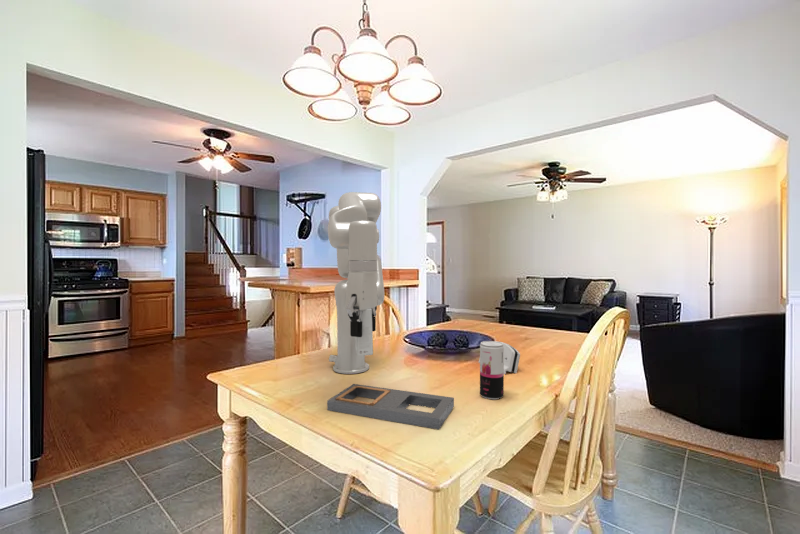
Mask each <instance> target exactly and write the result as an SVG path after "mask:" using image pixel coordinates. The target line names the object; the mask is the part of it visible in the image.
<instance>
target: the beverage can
mask: <svg viewBox="0 0 800 534" xmlns="http://www.w3.org/2000/svg"><path fill="white" fill-rule="evenodd" d="M501 342H502V341H497V342H496V341H495V340H485V341H481V342H480V344H479V359H480V363H479V394H480V396H481V397H482V398H484V399H487V398H488V399H487V400H500V399H502V398H503V397H504V393H505V392H504V389H505V387H504V383H505V382H504V378H505V377H504V346H503V343H504V342H503V343H501ZM501 397H502V398H501ZM499 398H500V399H499Z"/></svg>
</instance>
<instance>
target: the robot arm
mask: <svg viewBox="0 0 800 534" xmlns="http://www.w3.org/2000/svg"><path fill="white" fill-rule="evenodd" d="M381 212H382V202H381V199H380V197H379V196H378V195H377V194H376V193H375V192H360V191H359V192H357V191H349V192H345V193H343V194H341V196H340V197H339V199H338V205H336V206H333V207H331V208H330V210H329V212H328V225H327V234H328V235H327V236H328V241H329V244H330V246H331V247H332V248H333V249H336V260H337V261H336V262H337V265H336V266H337V272H338V275H339V276H340V277H341V278H344V280H343V279H342V280H340V281H338V282H337V283H336V284H335V286H334V300H335V305H336V316H337V317H336V318H337V319H336V321H337V322H336V324H337V325H336V327H337V328H336V329H337V332H336V333H337V335H336V336H337V338H336V339H337V355H335V354H334V355H333V354H330V355H329V358H328V362H333V363H334V365H333V366H332V370H333V371H334V372H335V373H338V374H343V375H344V374H345V375H351V374H352V375H353V374H359V373H360V374H361V373H363V372H364V373H365V372H366V371H368V370H369V369H370V364H369V363H368V362H366V361H365V360H366V355H364V356H359V355H357V352H356V348H355V337H362V321H361V317H362V313H363V311H365V310H367V309H372V332H376V329H377V328H376V322H377V319H376V317H377V310H378V306H380V305H382V304H383V303H384V301H385V286H384V285H385V284H384V277H383V275H384V274H383V267H382V260H381V257H380V255H378V243H379V241H380V230H379V229H378V226H377V223H378V220H379V217H380V216H381ZM355 308H359V309H355ZM356 312H358V316H357V314H356Z"/></svg>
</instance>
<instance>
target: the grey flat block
mask: <svg viewBox="0 0 800 534" xmlns="http://www.w3.org/2000/svg"><path fill="white" fill-rule="evenodd" d="M358 397H360V398H364V399H365V398H367V399H373V401H372V402H369V401H362V400H357V399H356V398H358ZM409 404H410V405H413V406H418V405H419V406H420V407H424V406H426V408H431V407H432V409H434V410H433V411H432V412H429V411H428V412H427V411H421V410H417V409H416V410H415V409H409V408H408V407H409V406H410V405H409ZM419 406H418V407H419ZM453 407H455V398H454V397H452V396H445V395H437V394H431V393H422V392H416V391H410V390H409V391H407V390H400V389H396V388H395V389H394V388H386V387H379V386H371V385H364V384H358V383H352V384H350V385H349V386H348V387H346V388H344V389H343V390H342V391H340V392H339V393H337V394H335V395H334V396H332V397H331V398H329V399H328V400H327V401H326V410H327V411H330V412H335V413H342V414H345V415H346V414H348V415H352V416H353V415H354V416H358V417H364V418H370V419H374V420H375V419H377V420H383V421H387V422H392V423H393V422H394V423H399V424H406V425H412V426H417V427H422V428H423V427H424V428H427V429H434V430H440V429H441V427H442V426H443V424H445V422H446V419H448V417H449V415H450V414H451V413H452V410H453V409H454V408H453Z"/></svg>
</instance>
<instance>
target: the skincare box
mask: <svg viewBox="0 0 800 534" xmlns="http://www.w3.org/2000/svg"><path fill="white" fill-rule="evenodd" d="M355 309H359V308H355ZM356 314H357V316H358V312H356ZM361 321H362V337H355V348H356V352H357V355H359V356H364V355H365V356H372V355H373V354H374V350H373V349H374V344H373V343H374V342H373V338H374V337H373V331H372V309H367V310H365V311H363V313H362V317H361Z"/></svg>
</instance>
